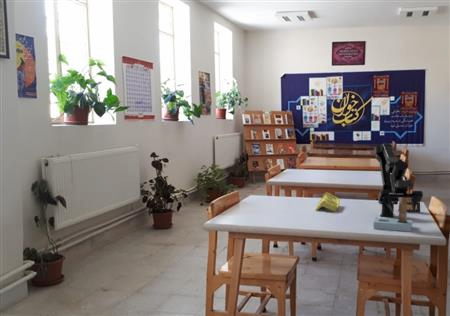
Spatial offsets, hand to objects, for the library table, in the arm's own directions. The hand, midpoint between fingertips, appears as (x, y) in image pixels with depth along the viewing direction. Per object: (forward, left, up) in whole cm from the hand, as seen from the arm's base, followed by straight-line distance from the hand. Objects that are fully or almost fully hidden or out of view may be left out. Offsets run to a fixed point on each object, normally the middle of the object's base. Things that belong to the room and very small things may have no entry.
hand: (403, 211), depth 220 cm
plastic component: (-37, -40, -9) cm, 55 cm away
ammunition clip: (-42, +2, -8) cm, 43 cm away
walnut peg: (-1, 0, -8) cm, 8 cm away
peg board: (-1, -4, -8) cm, 9 cm away
